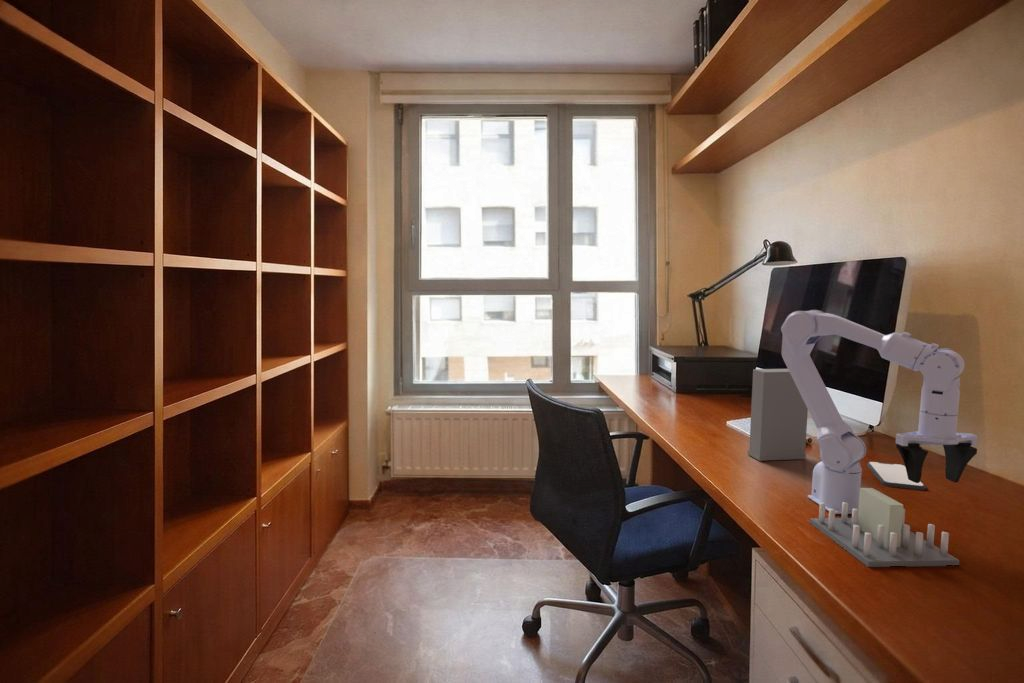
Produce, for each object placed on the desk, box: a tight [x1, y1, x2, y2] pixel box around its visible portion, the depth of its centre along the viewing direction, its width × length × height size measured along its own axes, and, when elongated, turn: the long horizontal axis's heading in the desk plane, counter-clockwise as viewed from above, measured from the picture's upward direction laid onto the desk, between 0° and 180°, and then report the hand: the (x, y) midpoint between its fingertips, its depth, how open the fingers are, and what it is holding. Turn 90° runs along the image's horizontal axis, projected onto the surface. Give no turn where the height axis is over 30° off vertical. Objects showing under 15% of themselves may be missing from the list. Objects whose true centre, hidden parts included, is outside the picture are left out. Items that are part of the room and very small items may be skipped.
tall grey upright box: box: [746, 368, 809, 462], centre depth 148 cm, size 14×6×25 cm, turn 97°
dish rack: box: [809, 502, 960, 568], centre depth 99 cm, size 17×16×5 cm
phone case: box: [866, 461, 927, 491], centre depth 133 cm, size 9×2×16 cm
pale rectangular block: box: [858, 487, 904, 547], centre depth 99 cm, size 8×2×8 cm, turn 1°
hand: (932, 480), depth 102 cm, fingers open, 7 cm apart
